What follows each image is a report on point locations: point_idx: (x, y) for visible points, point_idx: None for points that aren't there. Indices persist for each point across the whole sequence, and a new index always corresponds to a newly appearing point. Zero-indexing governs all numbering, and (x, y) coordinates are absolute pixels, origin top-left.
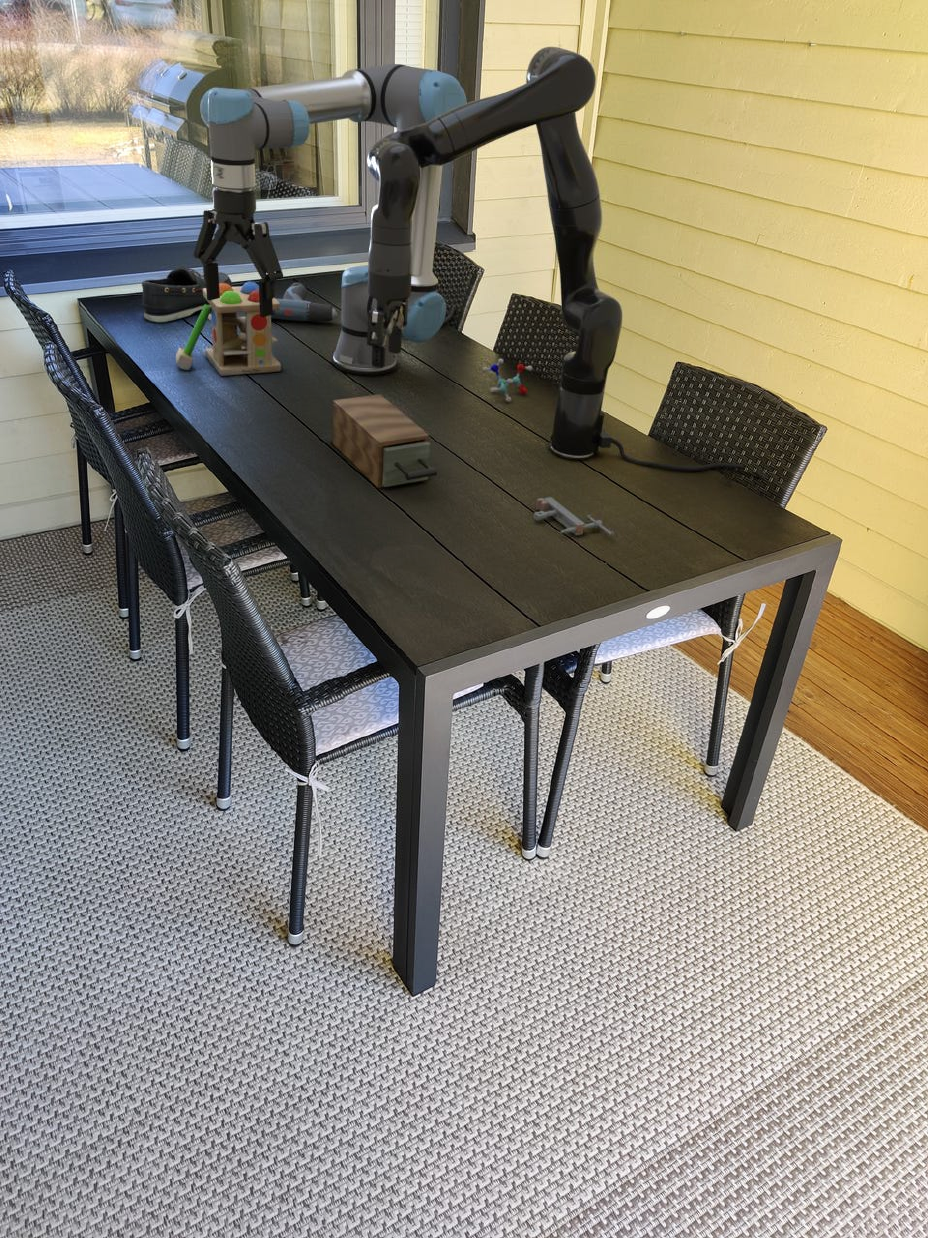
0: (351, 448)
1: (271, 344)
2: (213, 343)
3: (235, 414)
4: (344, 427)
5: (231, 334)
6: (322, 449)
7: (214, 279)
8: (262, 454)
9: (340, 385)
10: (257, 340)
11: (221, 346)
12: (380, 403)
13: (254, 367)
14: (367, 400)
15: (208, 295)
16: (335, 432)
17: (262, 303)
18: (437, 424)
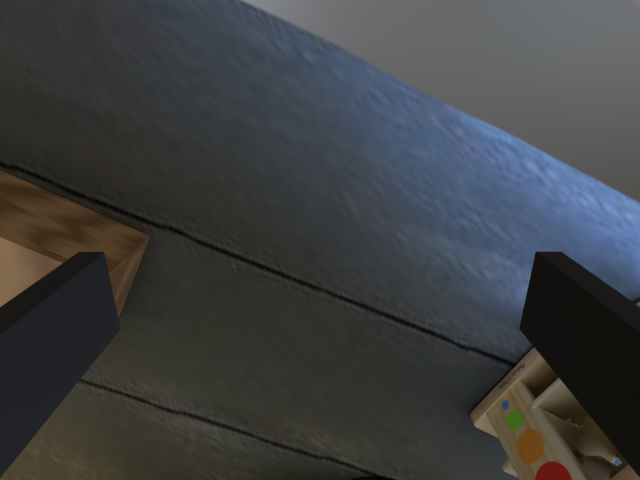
0: (36, 202)
1: (505, 451)
2: None
3: (399, 207)
4: (55, 231)
5: None
6: (140, 199)
7: (604, 378)
8: (204, 88)
9: (339, 434)
10: (532, 440)
11: None
12: None
13: (508, 386)
14: None
15: (560, 263)
16: (122, 240)
17: (18, 294)
18: (95, 417)
